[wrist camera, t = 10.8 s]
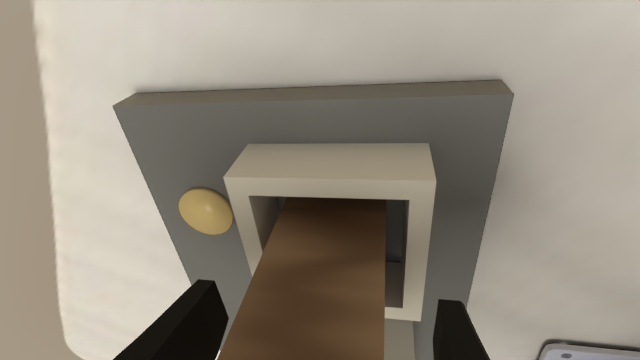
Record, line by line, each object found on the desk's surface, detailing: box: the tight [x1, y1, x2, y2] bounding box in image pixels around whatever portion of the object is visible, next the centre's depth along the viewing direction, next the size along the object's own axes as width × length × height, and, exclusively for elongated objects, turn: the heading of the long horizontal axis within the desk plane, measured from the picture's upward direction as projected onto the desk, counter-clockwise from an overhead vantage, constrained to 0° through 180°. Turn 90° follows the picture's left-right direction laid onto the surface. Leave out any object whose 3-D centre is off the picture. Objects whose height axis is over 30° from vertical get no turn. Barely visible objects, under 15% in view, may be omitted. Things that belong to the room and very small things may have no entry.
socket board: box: [113, 80, 514, 360], centre depth 18 cm, size 15×21×4 cm
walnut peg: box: [217, 197, 386, 360], centre depth 12 cm, size 4×4×8 cm
